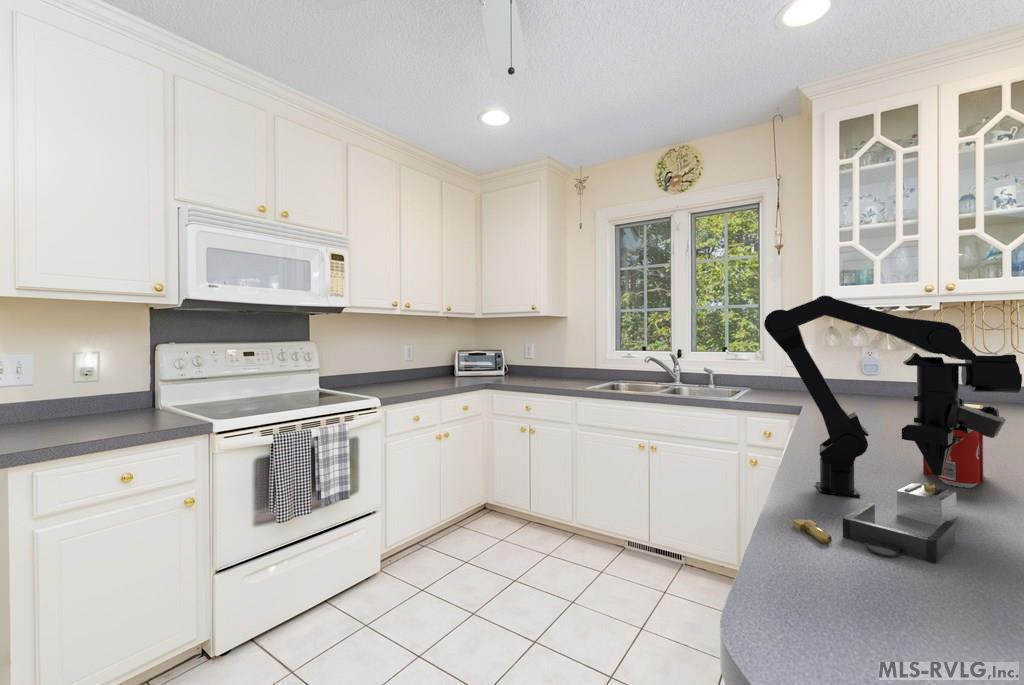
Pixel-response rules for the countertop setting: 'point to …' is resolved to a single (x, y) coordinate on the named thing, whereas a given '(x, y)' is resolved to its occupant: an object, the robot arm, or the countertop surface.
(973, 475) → the beverage can
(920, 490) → the block
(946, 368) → the robot arm
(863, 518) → the bracket
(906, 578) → the countertop surface
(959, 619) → the countertop surface
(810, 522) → the gold elongated piece
